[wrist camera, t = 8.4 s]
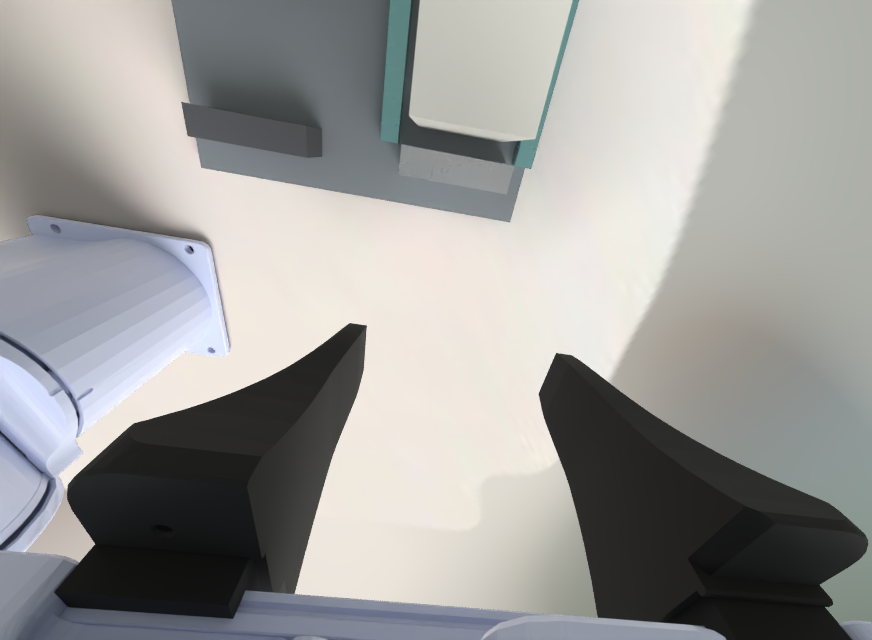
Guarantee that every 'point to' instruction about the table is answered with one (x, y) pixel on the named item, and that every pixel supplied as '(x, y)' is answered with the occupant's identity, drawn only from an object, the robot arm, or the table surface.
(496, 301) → the table surface
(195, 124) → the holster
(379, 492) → the table surface
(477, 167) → the port
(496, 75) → the plug
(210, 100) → the panel
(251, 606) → the robot arm
